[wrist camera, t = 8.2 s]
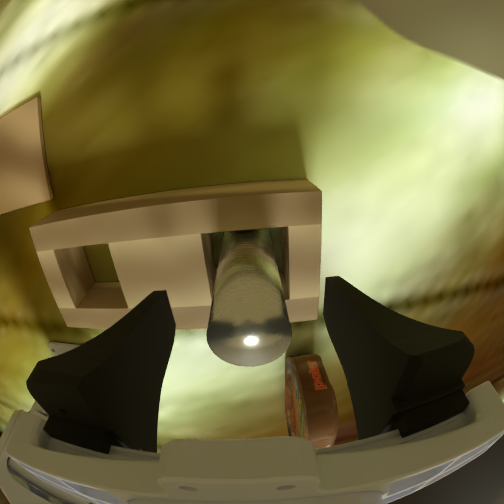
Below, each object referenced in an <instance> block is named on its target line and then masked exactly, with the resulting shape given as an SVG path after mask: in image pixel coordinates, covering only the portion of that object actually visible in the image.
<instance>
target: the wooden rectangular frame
mask: <svg viewBox="0 0 504 504" xmlns="http://www.w3.org/2000/svg"><path fill="white" fill-rule="evenodd" d="M273 227H281V242H282V271H279V276H280V280H281V285H282V289H283V294H284V298H285V303H286V307H287V312H288V316H289V321H290V322H299V321H308V320H316V319H317V316H318V301H319V285H320V264H321V230H322V191H321V190H320V189H319V188H317V187H316V186H315V185H314V184H313V183H311V182H310V181H309V180H308V179H290V180H273V181H259V182H246V183H234V184H224V185H214V186H204V187H196V188H187V189H179V190H171V191H164V192H157V193H150V194H144V195H137V196H131V197H125V198H119V199H113V200H108V201H102V202H97V203H92V204H87V205H82V206H77V207H72V208H67V209H63V210H58V211H55V212H54V213H52V214H50V215H49V216H47V217H45V218H44V219H42V220H40V221H39V222H37V223H35V224H34V225H32V226H31V227H29V229H30V233H31V236H32V240H33V243H34V246H35V249H36V252H37V255H38V258H39V261H40V264H41V266H42V269H43V272H44V274H45V277H46V280H47V282H48V285H49V287H50V289H51V292H52V294H53V297H54V299H55V301H56V303H57V306H58V308H59V310H60V312H61V314H62V316H63V318H64V320H65V322H66V325H67V327H77V328H97V329H108V328H110V327H111V326H112V325H114V324H115V323H116V322H117V321H119V320H120V319H121V318H122V317H124V316H125V315H126V314H127V313H128V312H130V311H131V310H132V309H133V308H134V307H135V306H136V305H138V304H139V303H140V302H141V301H142V300H143V299H144V298H146V297H147V296H148V295H149V294H150V293H152V292H153V291H158V290H166V291H167V295H168V298H169V302H170V306H171V309H172V313H173V316H174V320H175V323H176V329H203V328H208V322H209V316H210V309H211V303H212V297H213V291H214V285H215V279H216V274H217V270H216V263H215V256H214V250H213V243H212V236H211V233H212V232H224V231H235V230H247V229H260V228H273ZM104 243H108V245H109V249H110V252H111V256H112V259H113V263H114V266H115V269H116V273H117V276H118V279H119V282H105V283H95V281H94V278H93V275H92V272H91V269H90V266H89V263H88V260H87V257H86V254H85V251H84V247H83V246H87V245H95V244H104Z"/></svg>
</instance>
